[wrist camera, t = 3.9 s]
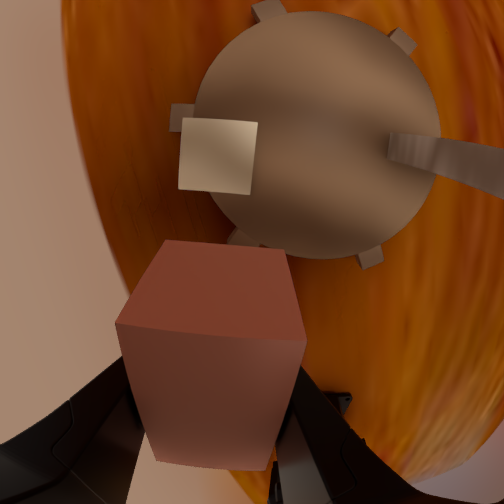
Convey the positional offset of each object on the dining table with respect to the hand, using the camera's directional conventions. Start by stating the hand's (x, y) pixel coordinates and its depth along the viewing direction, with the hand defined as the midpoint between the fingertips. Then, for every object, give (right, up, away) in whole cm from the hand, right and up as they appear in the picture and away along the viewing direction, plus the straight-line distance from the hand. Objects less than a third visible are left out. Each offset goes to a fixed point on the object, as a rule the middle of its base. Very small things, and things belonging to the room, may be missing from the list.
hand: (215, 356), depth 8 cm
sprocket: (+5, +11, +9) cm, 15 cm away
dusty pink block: (0, +1, +1) cm, 2 cm away
